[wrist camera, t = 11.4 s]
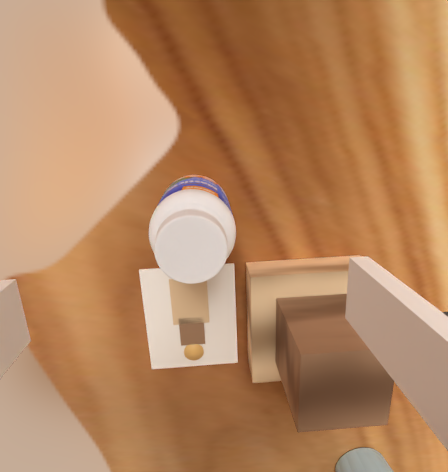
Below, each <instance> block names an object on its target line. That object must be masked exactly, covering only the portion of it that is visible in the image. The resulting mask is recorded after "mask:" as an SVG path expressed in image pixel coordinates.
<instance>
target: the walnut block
mask: <svg viewBox="0 0 448 472" xmlns="http://www.w3.org/2000/svg"><path fill="white" fill-rule="evenodd" d="M346 299H347V294H334V295H319V296H303V297H288V298H276V352H275V362H276V365H277V368H278V372H279V375H280V378H281V381H282V384H283V387H284V390H285V394H286V397H287V400H288V403H289V406H290V409H291V413H292V416H293V419H294V422H295V425H296V428H297V432H309V431H320V430H332V429H344V428H356V427H368V426H380V425H388V418H389V411H390V404H391V398H392V391H393V384H394V380H393V379H392V378H391V377H390V375H389V374H388V373H387V371H386V370H385V369H384V367H383V366H382V365H381V364H380V362H379V361H378V360H377V358H376V357H375V356H374V354H373V353H372V352H371V351H370V349H369V348H368V347H367V345H366V344H365V343H364V341H363V340H362V339H361V338H360V336H359V335H358V334H357V332H356V331H355V330H354V329H353V327H352V326H351V325H350V323H349V322H348V321H347V319H346V318H345V313H346Z"/></svg>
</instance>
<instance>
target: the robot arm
mask: <svg viewBox="0 0 448 472" xmlns="http://www.w3.org/2000/svg"><path fill="white" fill-rule="evenodd" d="M345 318H346V319H347V321H348V322H349V323H350V325H351V326H352V327H353V329H354V330H355V331H356V332H357V334H358V335H359V336H360V338H361V339H362V340H363V341H364V343H365V344H366V345H367V347H368V348H369V349H370V351H371V352H372V353H373V354H374V356H375V357H376V358H377V360H378V361H379V362H380V364H381V365H382V366H383V367H384V369H385V370H386V371H387V373H388V374H389V375H390V377H391V378H392V379H393V380H394V382H395V383H396V384H397V386H398V387H399V388H400V390H401V391H402V392H403V393H404V395H405V396H406V397H407V399H408V400H409V401H410V403H411V404H412V405H413V406H414V408H415V409H416V410H417V412H418V413H419V414H420V415H421V417H422V418H423V419H424V421H425V422H426V423H427V425H428V426H429V427H430V428H431V430H432V431H433V432H434V434H435V435H436V436H437V438H438V439H439V440H440V441H441V443H442V444H443V445H444V447H445V448H446V449H447V451H448V312H441V311H440V310H438V309H437V308H436V307H434V306H433V305H432V304H430V303H429V302H428V301H427V300H425V299H424V298H423V297H421V296H420V295H419V294H417V293H416V292H415V291H413V290H412V289H411V288H409V287H408V286H407V285H405V284H404V283H403V282H401V281H400V280H399V279H397V278H396V277H395V276H393V275H392V274H391V273H389V272H388V271H387V270H385V269H384V268H383V267H381V266H380V265H379V264H377V263H376V262H375V261H373V260H372V259H371V258H370V257H368V256H366V257H350V258H349V271H348V285H347V299H346V313H345ZM30 342H31V338H30V334H29V330H28V326H27V322H26V318H25V314H24V310H23V306H22V302H21V298H20V294H19V290H18V286H17V282H16V279H11V280H0V379H1V378H2V376H3V375H4V374H5V373H6V371H7V370H8V369H9V368H10V366H11V365H12V364H13V363H14V361H15V360H16V359H17V358H18V357H19V355H20V354H21V353H22V352H23V350H24V349H25V348H26V347H27V345H28V344H29V343H30Z"/></svg>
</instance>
